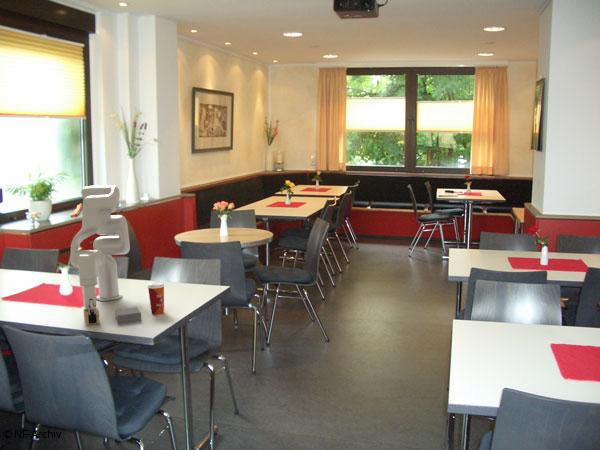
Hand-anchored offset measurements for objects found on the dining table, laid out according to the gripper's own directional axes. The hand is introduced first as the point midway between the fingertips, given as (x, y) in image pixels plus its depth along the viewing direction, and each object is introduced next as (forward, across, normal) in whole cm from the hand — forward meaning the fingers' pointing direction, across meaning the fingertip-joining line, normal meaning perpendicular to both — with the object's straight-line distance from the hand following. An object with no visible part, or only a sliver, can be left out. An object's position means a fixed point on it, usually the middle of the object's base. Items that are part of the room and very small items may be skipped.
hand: (92, 320), depth 281 cm
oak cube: (+1, 0, 0) cm, 1 cm away
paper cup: (+1, 0, +29) cm, 29 cm away
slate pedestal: (+1, +4, +15) cm, 16 cm away
